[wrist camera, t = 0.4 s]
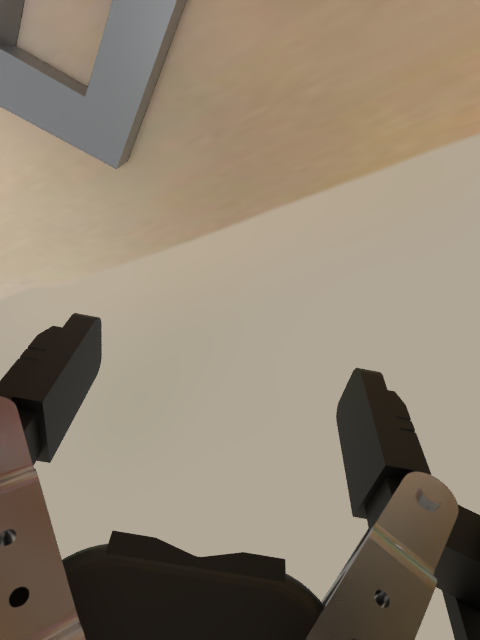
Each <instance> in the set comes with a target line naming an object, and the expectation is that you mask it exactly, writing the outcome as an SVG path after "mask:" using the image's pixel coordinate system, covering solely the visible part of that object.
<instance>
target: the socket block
mask: <svg viewBox="0 0 480 640" xmlns="http://www.w3.org/2000/svg"><path fill="white" fill-rule="evenodd" d="M185 3H186V0H113V1H112V5H111V8H110V12H109V15H108V19H107V22H106V26H105V29H104V33H103V36H102V40H101V43H100V47H99V50H98V54H97V57H96V61H95V64H94V68H93V71H92V75H91V78H90V82H89V85H88V87H87V86H85V85H83V84H81V83H80V82H78V81H76V80H74V79H73V78H71V77H69V76H67V75H66V74H64V73H62V72H61V71H59V70H57V69H55V68H54V67H52V66H50V65H48V64H47V63H45V62H43V61H41V60H40V59H38V58H36V57H35V56H33V55H31V54H29V53H28V52H26V51H24V50H22V49H21V48H19V47H17V46H16V42H17V37H18V32H19V26H20V21H21V16H22V11H23V5H24V0H0V107H2V108H4V109H6V110H8V111H10V112H11V113H13V114H15V115H17V116H19V117H21V118H23V119H24V120H26V121H28V122H30V123H32V124H34V125H36V126H37V127H39V128H41V129H43V130H45V131H47V132H49V133H50V134H52V135H54V136H56V137H58V138H60V139H62V140H63V141H65V142H67V143H69V144H71V145H73V146H75V147H76V148H78V149H80V150H82V151H84V152H86V153H88V154H89V155H91V156H93V157H95V158H97V159H99V160H101V161H102V162H104V163H106V164H108V165H110V166H112V167H114V168H115V169H117V168H119V167H120V166H121V165H123V164H124V163H125V162H127V161H128V158H129V155H130V153H131V150H132V147H133V145H134V142H135V139H136V136H137V134H138V131H139V128H140V126H141V123H142V120H143V117H144V115H145V112H146V109H147V107H148V104H149V101H150V98H151V96H152V93H153V90H154V88H155V85H156V82H157V79H158V77H159V74H160V71H161V68H162V66H163V63H164V60H165V58H166V55H167V52H168V49H169V47H170V44H171V41H172V39H173V36H174V33H175V30H176V28H177V25H178V22H179V20H180V17H181V14H182V11H183V9H184V6H185Z"/></svg>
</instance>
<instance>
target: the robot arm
mask: <svg viewBox="0 0 480 640" xmlns="http://www.w3.org/2000/svg"><path fill="white" fill-rule="evenodd" d="M101 355H102V354H101V319H100V318H98V317H92V316H88V315H82V314H77V313H74V314H73V315H72V316H71V317H70V318H69V320H68V321H67V322H66V324H65V325H64V326H63V328H61V327H56V326H52V327H50V328H49V329H47V330H45V331H44V332H42V333H40V334H39V335H37V336H36V338H35V339H34V340H33V341H32V343H31V344H30V345H29V346H28V349H26V350H25V351H24V352H23V354H22V355H21V356H20V359H18V360H17V361H16V362H15V364H14V365H13V366H12V367H11V368H10V370H9V371H8V372H7V373H6V374H5V376H4V377H3V378H2V379H1V381H0V640H415V637H416V635H417V632H418V630H419V627H420V625H421V622H422V620H423V617H424V615H425V612H426V610H427V607H428V605H429V602H430V600H431V597H432V595H433V592H434V590H435V587H437V588H439V589H441V590H442V592H443V596H444V599H445V603H446V607H447V611H448V614H449V618H450V622H451V626H452V630H453V634H454V638H455V640H480V515H478V514H476V513H474V512H472V511H470V510H468V509H465V508H463V507H462V506H460V505H458V504H457V501H456V499H455V497H454V495H453V494H452V492H451V491H450V490H449V489H448V487H447V486H446V485H445V484H443V483H442V482H441V481H440V480H438V479H437V478H435V477H434V476H431V473H430V470H429V467H428V465H427V462H426V459H425V456H424V454H423V451H422V448H421V446H420V443H419V440H418V437H417V435H416V433H415V429H414V427H413V424H412V422H411V421H410V419H411V418H410V416H409V413H408V410H407V408H406V405H405V404H404V403H403V402H402V400H401V399H400V397H399V396H398V395H397V394H396V393H395V392H394V391H389V390H387V387H386V384H385V381H384V378H383V375H382V374H381V373H380V372H376V371H371V370H365V369H360V368H356V369H355V370H354V371H353V373H352V375H351V377H350V379H349V381H348V383H347V386H346V388H345V390H344V392H343V394H342V397H341V398H340V401H339V403H338V407H337V415H336V417H337V426H338V432H339V437H340V444H341V449H342V455H343V461H344V467H345V473H346V479H347V484H348V490H349V496H350V502H351V508H352V514H353V517H359V518H365V519H367V521H368V526H369V529H368V530H367V532H366V533H365V535H364V536H363V537H362V539H361V541H360V542H359V544H358V545H357V547H356V549H355V550H354V552H353V553H352V555H351V557H350V558H349V560H348V561H347V563H346V564H345V566H344V568H343V569H342V571H341V573H340V574H339V576H338V577H337V579H336V580H335V582H334V583H333V585H332V587H331V588H330V590H329V591H328V593H327V594H326V596H325V597H324V599H323V600H322V602H321V601H320V600H319V599H318V598H317V597H316V596H315V595H314V594H313V593H312V592H311V591H310V590H309V589H308V588H307V587H306V586H304V585H303V584H302V583H301V582H299V581H298V580H296V579H294V578H293V577H291V576H289V575H287V574H285V559H280V558H274V557H268V556H262V555H256V554H250V553H244V552H242V553H234V554H225V555H217V556H208V557H196V556H193V555H191V554H189V553H187V552H185V551H183V550H181V549H179V548H176V547H174V546H172V545H170V544H168V543H166V542H164V541H161V540H159V539H157V538H153V537H148V536H142V535H136V534H130V533H123V532H117V531H112V534H111V537H110V540H109V544H104V545H98V546H94V547H90V548H87V549H84V550H81V551H79V552H76V553H74V554H72V555H70V556H68V557H66V558H65V559H63V560H62V559H61V555H60V552H59V549H58V545H57V541H56V538H55V534H54V531H53V527H52V524H51V520H50V517H49V513H48V510H47V506H46V503H45V499H44V495H43V492H42V488H41V485H40V482H39V478H38V475H37V472H36V469H34V467H33V466H34V464H35V462H36V460H37V461H43V462H48V463H50V462H51V460H52V458H53V456H54V455H55V453H56V451H57V449H58V447H59V445H60V443H61V441H62V440H63V438H64V436H65V433H66V432H67V430H68V428H69V426H70V425H71V423H72V421H73V419H74V417H75V415H76V413H77V412H78V409H79V408H80V406H81V404H82V402H83V400H84V398H85V397H86V394H87V393H88V391H89V389H90V387H91V385H92V383H93V381H94V380H95V378H96V376H97V374H98V371H99V368H100V363H101Z"/></svg>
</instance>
